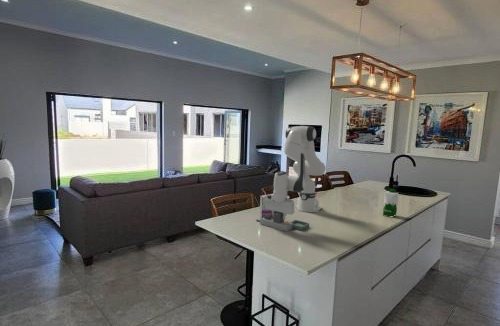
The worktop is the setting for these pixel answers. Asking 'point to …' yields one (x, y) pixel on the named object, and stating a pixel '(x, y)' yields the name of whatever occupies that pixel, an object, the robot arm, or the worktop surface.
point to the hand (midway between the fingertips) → (278, 218)
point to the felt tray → (299, 225)
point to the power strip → (275, 223)
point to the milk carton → (390, 202)
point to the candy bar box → (262, 207)
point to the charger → (278, 217)
